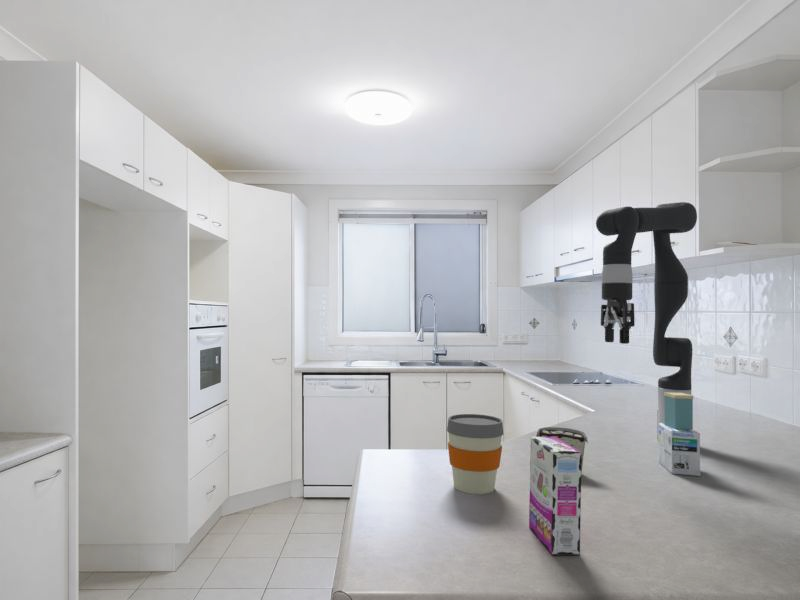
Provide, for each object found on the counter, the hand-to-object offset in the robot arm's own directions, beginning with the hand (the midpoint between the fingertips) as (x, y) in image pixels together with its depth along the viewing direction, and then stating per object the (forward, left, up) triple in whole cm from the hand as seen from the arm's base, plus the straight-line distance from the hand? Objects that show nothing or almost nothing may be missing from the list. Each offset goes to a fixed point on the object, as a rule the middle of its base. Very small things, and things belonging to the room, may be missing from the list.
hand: (616, 342), depth 130 cm
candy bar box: (+45, -32, -32) cm, 64 cm away
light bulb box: (+3, +15, -32) cm, 36 cm away
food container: (+5, -16, -32) cm, 36 cm away
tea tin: (+3, +15, -21) cm, 26 cm away
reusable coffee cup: (+19, -41, -32) cm, 56 cm away
